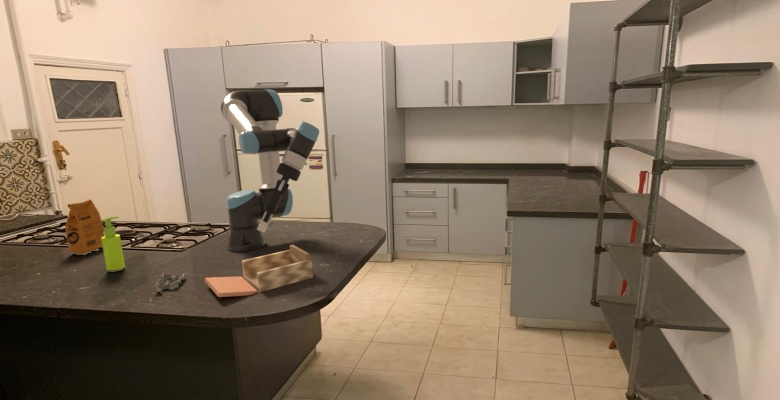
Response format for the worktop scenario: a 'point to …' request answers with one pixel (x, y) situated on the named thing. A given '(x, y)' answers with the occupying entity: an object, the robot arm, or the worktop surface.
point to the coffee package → (84, 227)
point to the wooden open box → (278, 269)
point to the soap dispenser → (112, 247)
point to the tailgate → (230, 286)
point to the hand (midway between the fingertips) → (260, 230)
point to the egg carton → (168, 284)
